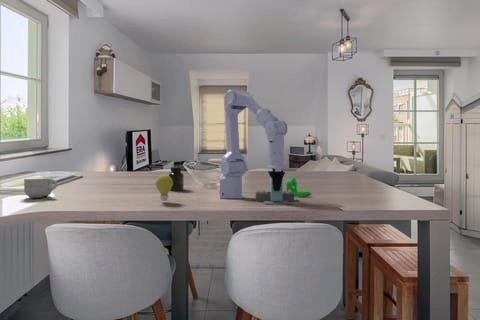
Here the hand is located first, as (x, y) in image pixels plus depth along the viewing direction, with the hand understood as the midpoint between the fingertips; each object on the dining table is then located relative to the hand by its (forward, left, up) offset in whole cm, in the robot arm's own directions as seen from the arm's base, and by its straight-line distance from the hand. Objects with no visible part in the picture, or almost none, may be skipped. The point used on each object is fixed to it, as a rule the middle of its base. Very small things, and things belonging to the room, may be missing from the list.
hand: (276, 190), depth 145 cm
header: (0, +8, -5) cm, 10 cm away
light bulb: (-43, +9, -5) cm, 44 cm away
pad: (0, 0, -5) cm, 5 cm away
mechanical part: (+12, +25, -5) cm, 28 cm away
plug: (0, 0, -3) cm, 4 cm away
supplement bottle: (-43, +39, -5) cm, 58 cm away
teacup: (-97, +21, -5) cm, 99 cm away
